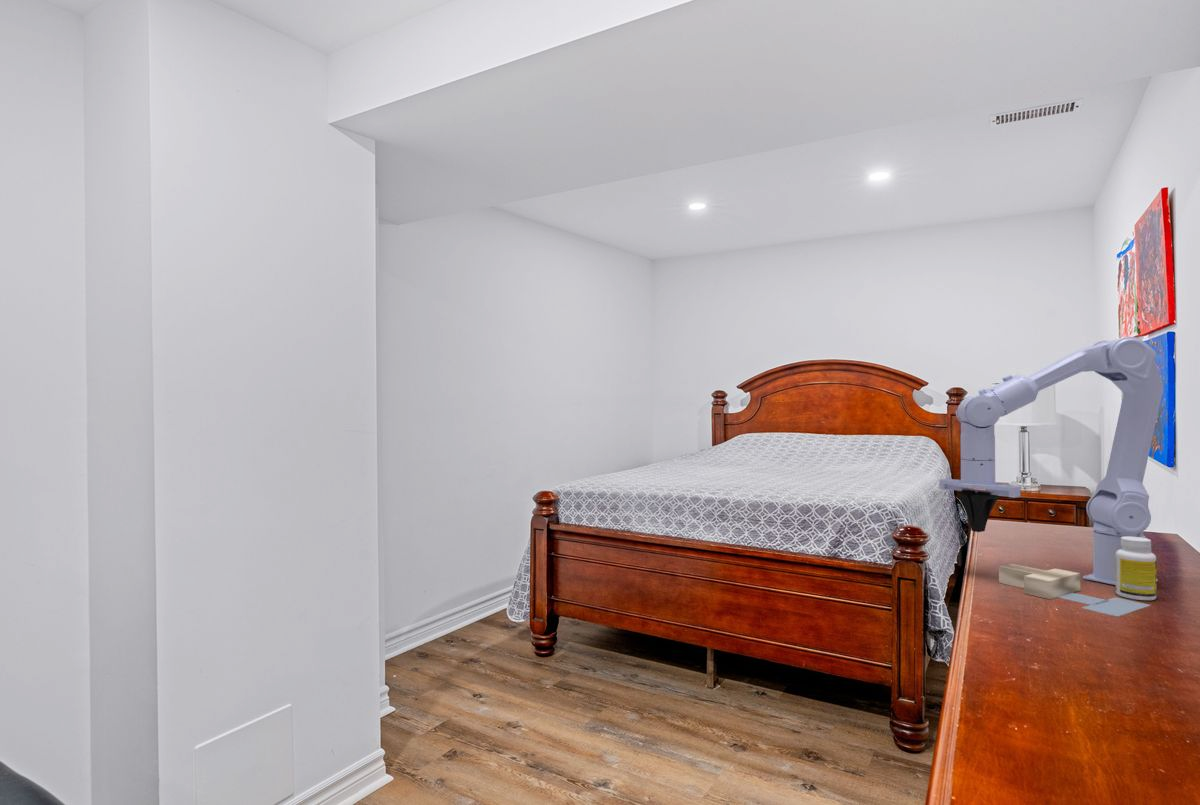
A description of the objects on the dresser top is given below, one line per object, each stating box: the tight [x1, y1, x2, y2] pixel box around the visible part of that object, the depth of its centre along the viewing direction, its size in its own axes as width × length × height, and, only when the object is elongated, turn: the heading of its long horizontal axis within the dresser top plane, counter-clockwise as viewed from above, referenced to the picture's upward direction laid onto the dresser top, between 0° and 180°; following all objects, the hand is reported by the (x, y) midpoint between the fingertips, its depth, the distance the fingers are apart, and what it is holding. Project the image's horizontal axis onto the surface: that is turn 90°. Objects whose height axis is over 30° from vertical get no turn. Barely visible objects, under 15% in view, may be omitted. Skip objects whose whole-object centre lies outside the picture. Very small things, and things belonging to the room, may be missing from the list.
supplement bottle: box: [1115, 536, 1158, 601], centre depth 113 cm, size 5×5×10 cm
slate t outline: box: [1057, 592, 1152, 618], centre depth 110 cm, size 11×11×1 cm
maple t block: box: [998, 563, 1081, 600], centre depth 118 cm, size 10×10×3 cm
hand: (978, 531), depth 127 cm, fingers closed
